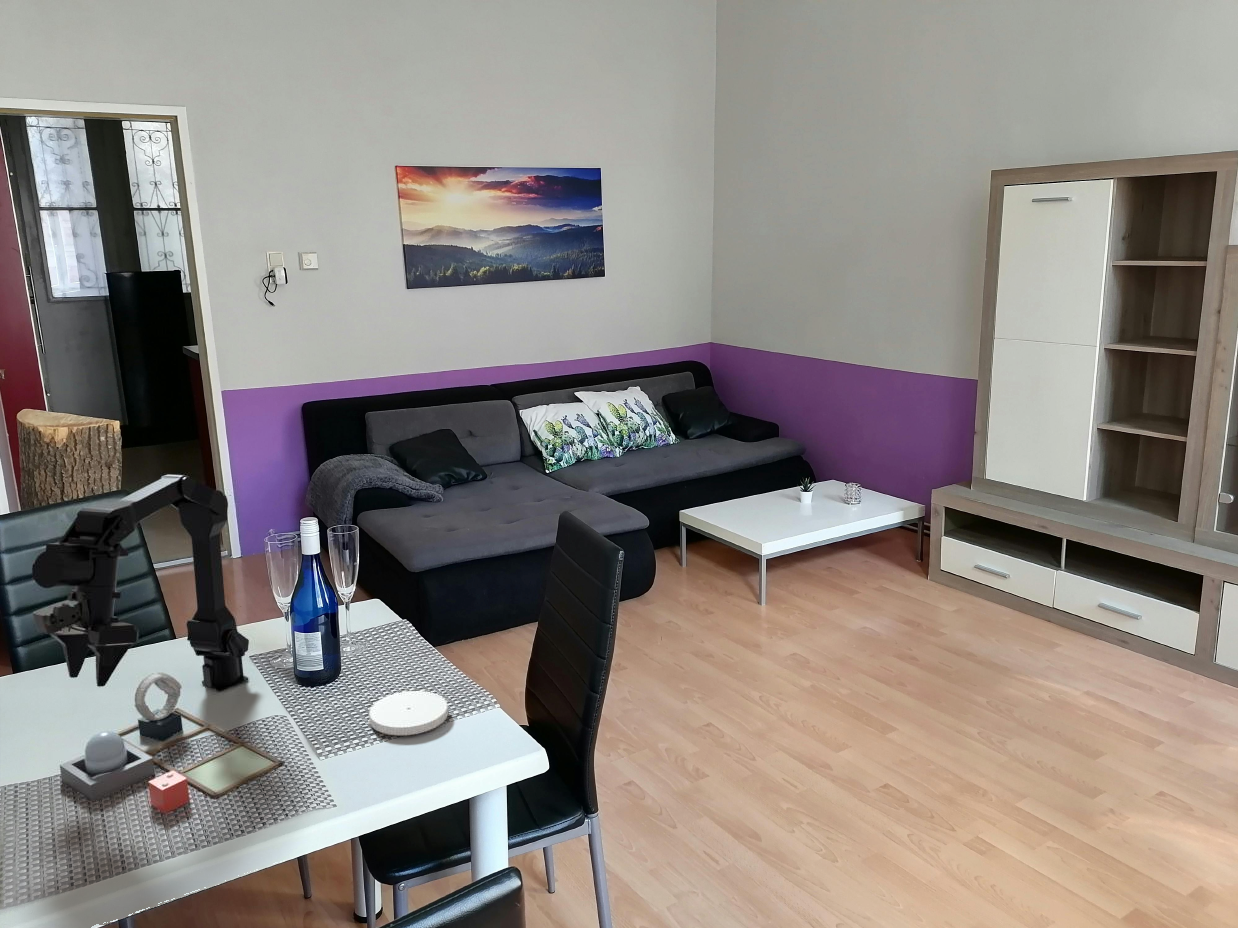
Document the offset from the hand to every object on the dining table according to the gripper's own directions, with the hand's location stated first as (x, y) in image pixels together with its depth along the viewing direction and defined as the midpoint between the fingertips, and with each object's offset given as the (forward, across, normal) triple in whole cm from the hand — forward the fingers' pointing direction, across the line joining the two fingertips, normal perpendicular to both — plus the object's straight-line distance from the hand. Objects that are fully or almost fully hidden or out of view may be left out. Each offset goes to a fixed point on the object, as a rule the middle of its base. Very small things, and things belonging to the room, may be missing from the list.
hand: (86, 681), depth 154 cm
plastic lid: (+8, +26, +46) cm, 53 cm away
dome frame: (+16, +1, +4) cm, 16 cm away
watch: (+12, -6, +17) cm, 21 cm away
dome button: (+14, +2, +4) cm, 14 cm away
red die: (+17, +16, +7) cm, 24 cm away
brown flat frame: (+13, +5, +17) cm, 22 cm away
